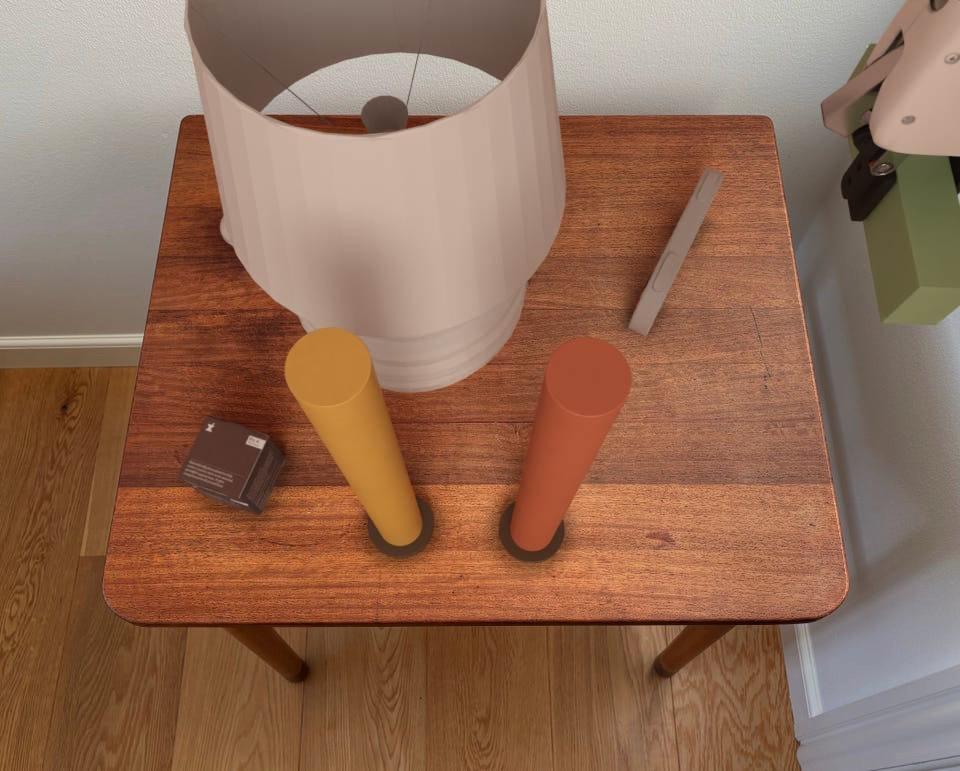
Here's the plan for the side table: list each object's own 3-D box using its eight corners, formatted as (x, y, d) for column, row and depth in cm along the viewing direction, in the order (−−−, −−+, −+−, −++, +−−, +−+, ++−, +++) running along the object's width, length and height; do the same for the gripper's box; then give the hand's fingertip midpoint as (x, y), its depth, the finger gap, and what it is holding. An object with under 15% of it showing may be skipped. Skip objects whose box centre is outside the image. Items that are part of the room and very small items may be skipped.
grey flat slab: (691, 197, 84) (712, 147, 76) (710, 205, 84) (734, 156, 76) (619, 339, 78) (635, 301, 70) (640, 349, 77) (658, 312, 70)
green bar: (887, 95, 47) (922, 44, 44) (936, 326, 41) (980, 289, 38) (839, 93, 47) (869, 42, 44) (880, 324, 41) (920, 287, 38)
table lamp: (463, 485, 72) (452, 274, 35) (243, 364, 76) (23, 60, 39) (582, 279, 80) (677, -72, 43) (377, 180, 84) (301, -217, 47)
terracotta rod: (563, 565, 69) (656, 441, 34) (497, 562, 69) (521, 435, 34) (563, 499, 72) (651, 319, 36) (499, 497, 72) (524, 315, 36)
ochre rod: (431, 559, 69) (387, 430, 34) (366, 557, 70) (253, 425, 34) (435, 494, 72) (398, 310, 36) (371, 492, 72) (271, 305, 36)
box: (202, 496, 71) (173, 476, 65) (231, 438, 74) (206, 412, 67) (261, 517, 71) (238, 499, 64) (288, 458, 73) (269, 435, 66)
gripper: (928, -38, 26) (749, 252, 43) (1414, -23, 26) (1042, 262, 43) (892, -181, 29) (737, 145, 46) (1330, -168, 29) (1012, 154, 46)
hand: (886, 200), depth 44 cm, fingers closed on green bar, 3 cm apart
